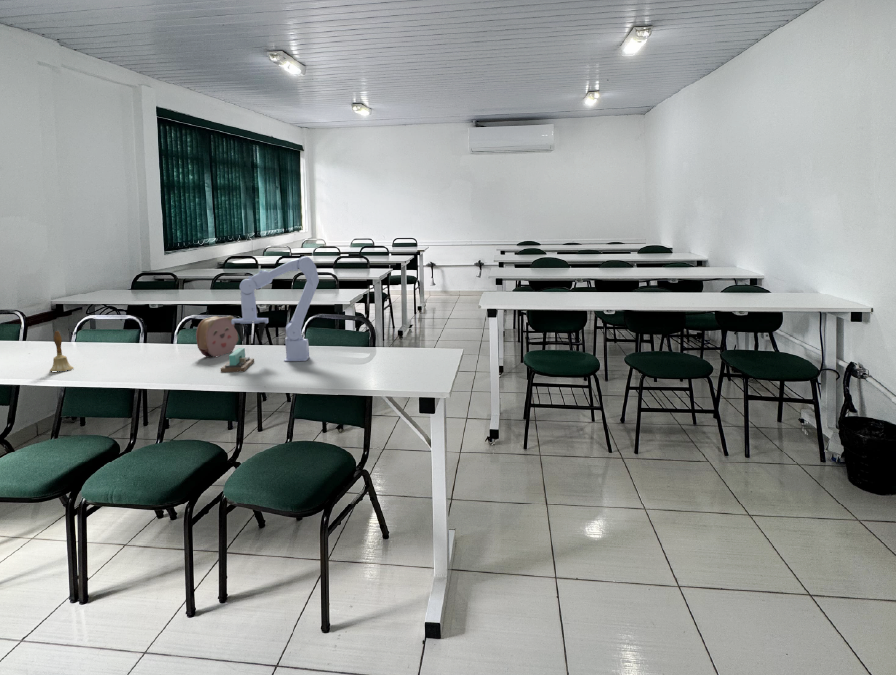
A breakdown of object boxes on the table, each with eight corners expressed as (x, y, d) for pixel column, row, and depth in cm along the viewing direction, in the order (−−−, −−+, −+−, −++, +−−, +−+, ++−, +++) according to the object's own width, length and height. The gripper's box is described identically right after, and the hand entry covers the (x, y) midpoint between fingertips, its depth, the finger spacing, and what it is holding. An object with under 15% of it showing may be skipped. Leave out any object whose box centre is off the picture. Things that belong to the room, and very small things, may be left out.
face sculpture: (209, 359, 255) (206, 321, 252) (196, 358, 257) (193, 320, 254) (240, 350, 273) (237, 314, 270) (227, 349, 276) (224, 313, 272)
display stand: (232, 362, 249) (231, 354, 249) (254, 361, 250) (253, 353, 249) (220, 372, 234) (220, 363, 233) (244, 371, 234) (243, 362, 234)
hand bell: (51, 369, 241) (46, 330, 238) (75, 366, 244) (70, 328, 241) (47, 373, 234) (41, 333, 231) (71, 371, 237) (66, 332, 234)
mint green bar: (239, 357, 248) (238, 348, 248) (245, 357, 249) (244, 347, 248) (229, 365, 235) (228, 355, 234) (235, 365, 235) (235, 355, 234)
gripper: (228, 310, 240) (231, 343, 243) (264, 309, 242) (267, 341, 244) (232, 307, 247) (235, 339, 250) (268, 306, 249) (270, 338, 251)
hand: (251, 340), depth 248 cm, fingers open, 7 cm apart
